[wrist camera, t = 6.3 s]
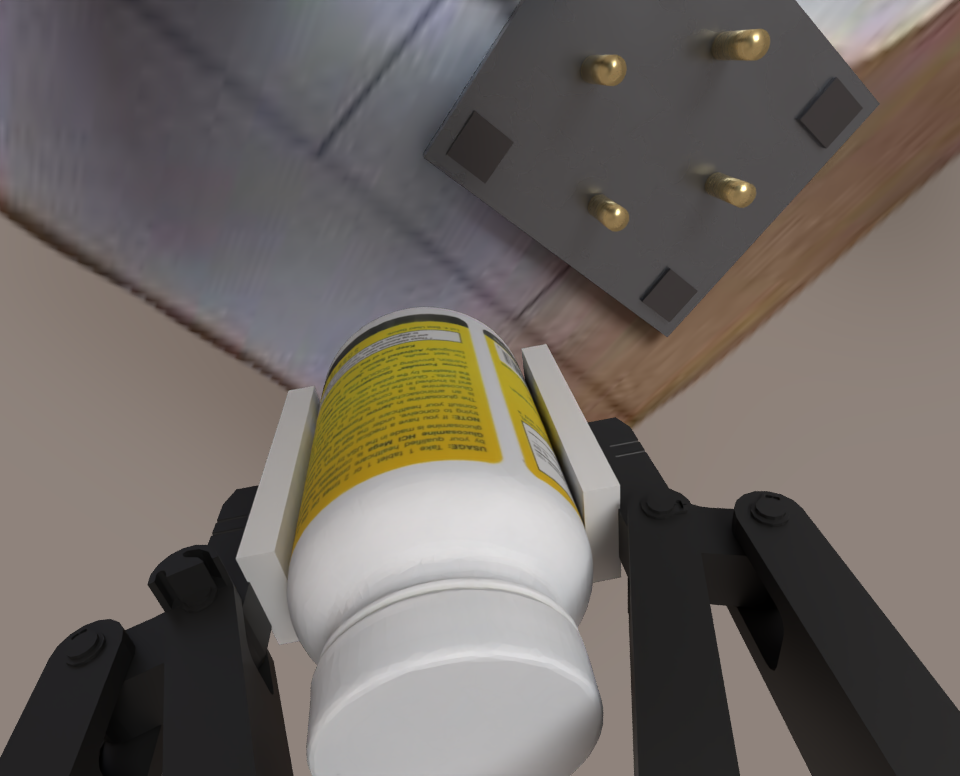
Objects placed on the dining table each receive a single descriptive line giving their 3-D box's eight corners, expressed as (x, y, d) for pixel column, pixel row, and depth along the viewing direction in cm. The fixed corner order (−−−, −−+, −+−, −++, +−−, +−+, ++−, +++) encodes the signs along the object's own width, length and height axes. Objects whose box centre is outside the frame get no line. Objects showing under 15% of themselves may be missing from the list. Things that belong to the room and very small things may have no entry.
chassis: (423, 154, 30) (426, 167, 26) (632, -177, 24) (674, -217, 21) (659, 329, 37) (688, 359, 33) (863, 102, 31) (924, 108, 28)
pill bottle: (296, 433, 19) (194, 830, 9) (372, 266, 16) (341, 568, 7) (466, 490, 21) (527, 861, 11) (556, 349, 18) (731, 670, 9)
